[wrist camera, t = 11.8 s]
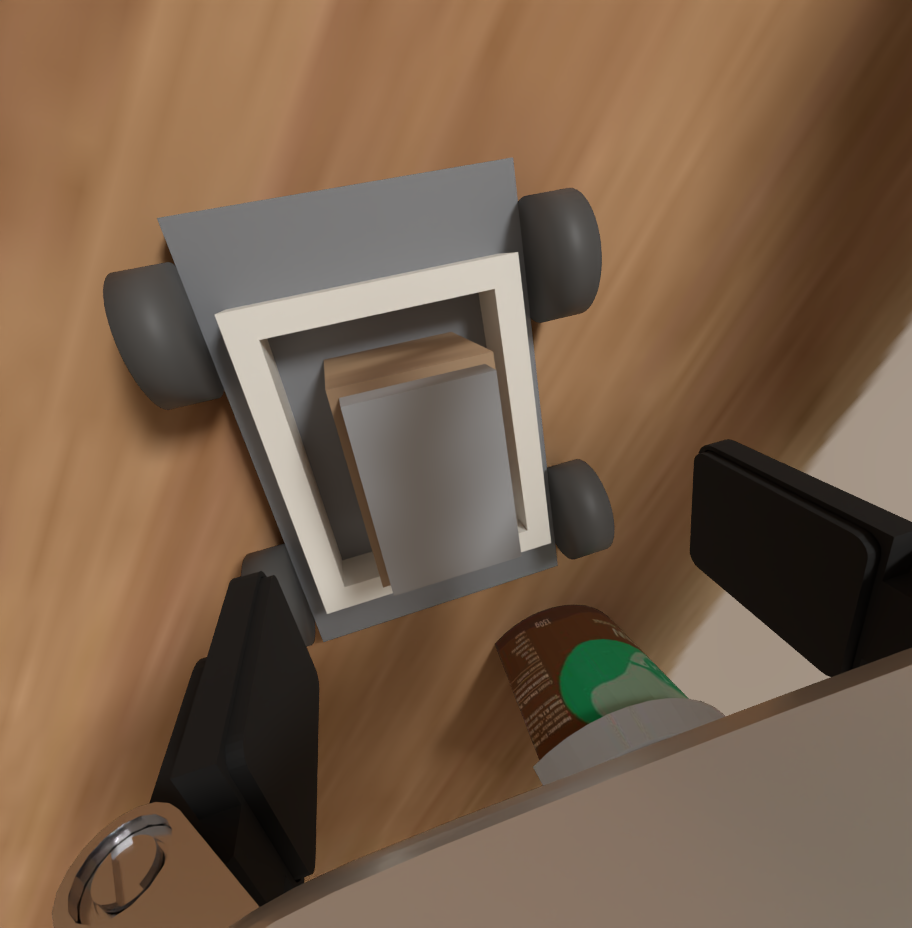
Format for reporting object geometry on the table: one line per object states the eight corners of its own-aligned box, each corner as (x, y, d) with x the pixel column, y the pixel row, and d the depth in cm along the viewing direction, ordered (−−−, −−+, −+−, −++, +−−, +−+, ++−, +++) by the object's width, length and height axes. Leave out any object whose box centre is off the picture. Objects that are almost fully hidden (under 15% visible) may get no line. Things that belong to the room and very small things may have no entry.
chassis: (537, 159, 19) (595, 129, 15) (572, 541, 26) (617, 589, 22) (120, 230, 16) (56, 218, 12) (290, 631, 24) (285, 704, 20)
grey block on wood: (451, 331, 19) (505, 357, 13) (478, 488, 22) (530, 560, 16) (323, 359, 18) (326, 398, 13) (368, 518, 21) (386, 606, 15)
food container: (672, 635, 31) (815, 782, 22) (609, 702, 32) (723, 870, 23) (546, 552, 26) (666, 701, 17) (475, 634, 27) (554, 818, 18)
